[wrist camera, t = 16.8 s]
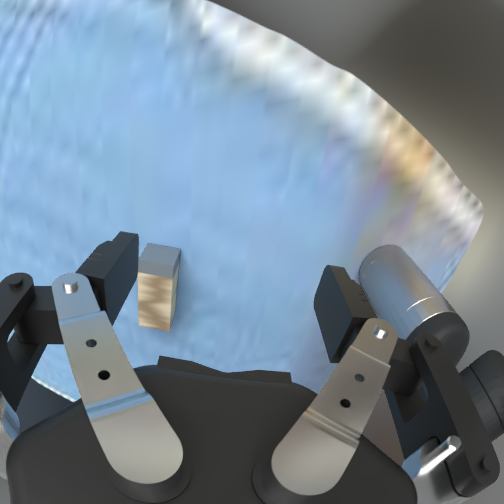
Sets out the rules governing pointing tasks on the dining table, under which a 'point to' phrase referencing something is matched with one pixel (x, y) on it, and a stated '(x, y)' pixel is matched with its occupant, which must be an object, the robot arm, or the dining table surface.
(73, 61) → the dining table surface
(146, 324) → the maple block
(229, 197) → the dining table surface
